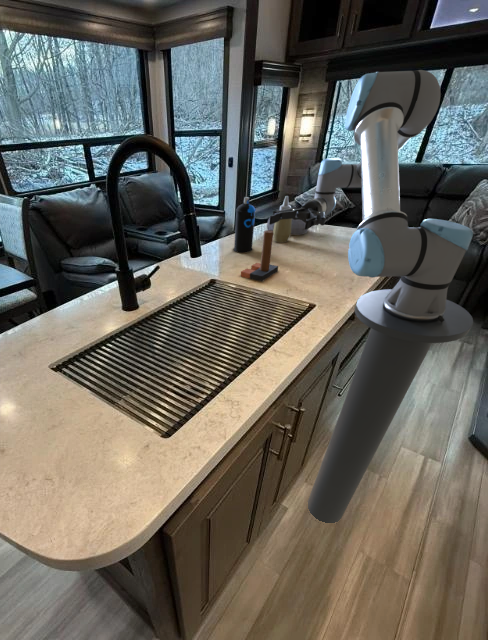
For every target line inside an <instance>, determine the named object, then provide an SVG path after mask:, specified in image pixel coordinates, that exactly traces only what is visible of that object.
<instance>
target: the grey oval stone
mask: <svg viewBox="0 0 488 640" xmlns="http://www.w3.org/2000/svg"><path fill="white" fill-rule="evenodd" d="M274 225H275V223H274V224H270V217H268V219H267V223H266V230H272V231H273V230H274ZM305 225H306V223H305V222H303V221H302V220H299V219H298V220H293V219H292V224H291V234H290V236H296V235H305V234H307V233H308V231H309V229H305Z"/></svg>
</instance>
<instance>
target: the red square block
mask: <svg viewBox="0 0 488 640" xmlns="http://www.w3.org/2000/svg"><path fill="white" fill-rule="evenodd" d="M253 271H255V270H252V269H251V268H245V269H243V270H241V271H240V277H242V278H245V279H250V273H252V272H253ZM250 280H251V279H250Z"/></svg>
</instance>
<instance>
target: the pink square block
mask: <svg viewBox="0 0 488 640" xmlns="http://www.w3.org/2000/svg"><path fill="white" fill-rule="evenodd" d="M260 266H261V262H255V263H253V264H252V265H251V267H250V269H252V270H257V269H259V268H260Z"/></svg>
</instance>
